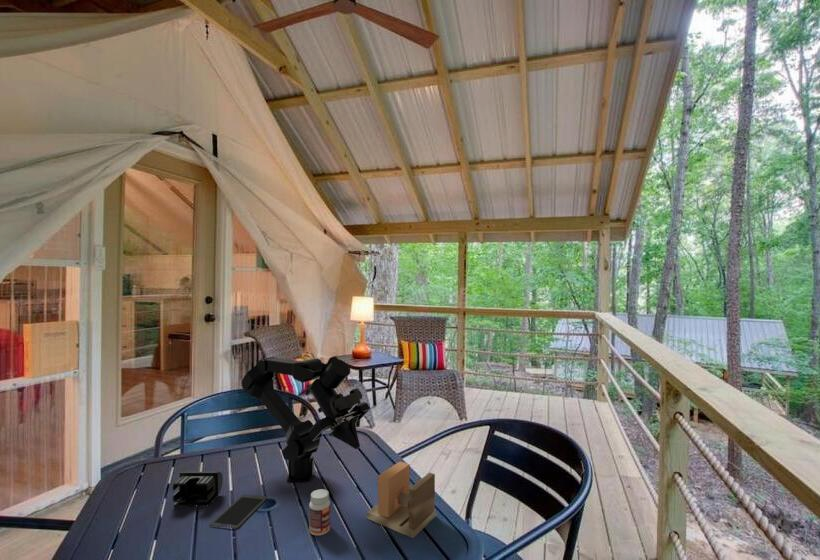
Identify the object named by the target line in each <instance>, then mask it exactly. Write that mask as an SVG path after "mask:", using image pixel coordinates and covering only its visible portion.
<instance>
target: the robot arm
mask: <svg viewBox="0 0 820 560" xmlns="http://www.w3.org/2000/svg"><path fill="white" fill-rule="evenodd" d="M256 363H257V364H255V365H254V366H253V367H252V368H250V369H249V370H248V371H246V374H245V375H244V376H243V378H242V379H241V387H242V389H243V391H244V392H246V394H248V396H249V397H251V398H254V399H257V400H260V402H261V403H262V404H263V405H264V407H265V408H266V409H267V410H268V412H269V413H270V415H271V416H272V417H273V418H274V419H275V421H276V422H277V424H278V425H279V426H280V427H281V429H282V430H283V431H284V432H285V437H286V438H285V439H286V440H285V441H286V444H287V445H286V446H285V447H284V448H283V450H282V453H281V454H282V457H283V459H284V460H287V461H288V462H287V465H288V466H287V467H288V469H287V471H288V473H287V474H288V476H287V478H286V482H290V483H291V482H293V483H294V482H295V483H296V482H310V481H311V479H312V477H313V475H314V474H315V457H313V454H314V453H317V452H318V448H319V446H320V442H321V438H322V437H323V432H326V431H328V430H330V433H329V437H334V438H336V439H338V440H340V441H342V442H343V443H344V444H347V445H348V446H350V447H351V448H353V449H355V450H357V449H359V448H360V447H361V445H360V440H359V435H358V432H357V425H356V424H357V422H358V421H360V420H361V419H362V418H364V417H365V416H366V414H367V413H368V412H369V411H370V410H371V407H370V405H369V404H368V402H365V401H364V402H362V401H361V400H363V394H362V392H361V390H360V389H359V388H358V387H357V388H353V389H351V390H349V394H347V395H344V394H343V393H341V392H340V393H337V391H336V389H338V387H340V385H342V383H343V382H344V381H345V380H346V379H347V377H348V376H349V375H350V374H351V367H350V366H349V364H348V363H346V362H345V361H343V360H341V359H340V358H338V357H337V355H335V356H332V357H330V358H329V359H328V360H327V362H326V363H325V362H322V360H321V359H320V358H317V357H316V358H310V359H304V360H295V359H287V358H279V357H275V356H269V357H264V358H261V359H259V360H258V362H256ZM276 374H280V375H287V376H290V377H292V378H293V380H294V381H296V382H300V383H302V384H303V383H308V382H311V381H312V382H311V383H310V384H307V385H306V390H305V393H304V394H305V396H309V395H312V397H313V398H314V400H315V402H316V403H317V405H318V409H317V412H318V413H319V414H320V413H322V414H323V415H324V416H325V417H324V418H321V419H318V420H317V421H316V422H315V423H314V424H313V423H312V421H311V420H309V419H307V420H305V421H302V420H300V419H299V417H298V416H297V415H296V414H295V413H294V412H293V411H292V409H291V408H290V406H288V404H287V403H286V402H285V400H283V398H282V397H281V396H280V395H279V394H278V392H277V391H276V389H275V387H274V386H275V385H274V383H275V381H274V378H275V377H276Z"/></svg>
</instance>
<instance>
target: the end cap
mask: <svg viewBox="0 0 820 560" xmlns="http://www.w3.org/2000/svg"><path fill="white" fill-rule="evenodd" d="M223 482H224V475H223V473H222V472H221V471H181V472H180V473H179V479H177V480H176V481H175V482H174V483H173V484H172V491H175V490H176V489H177V488H178V490H177V491H176V492H175V493H174V494H173V495H172V502H174V503H173V507H174V506H196V505H197V506H207V505H210V504H211V503H212V501H213V500H214V499H215V498H216V497H218V496H219V495H220V493H221V491H222V488H223ZM216 499H217V498H216ZM216 499H215V500H216ZM215 500H214V501H215ZM214 501H213V502H214ZM212 504H213V503H212ZM212 504H211V505H212ZM211 505H210V506H211Z"/></svg>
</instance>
